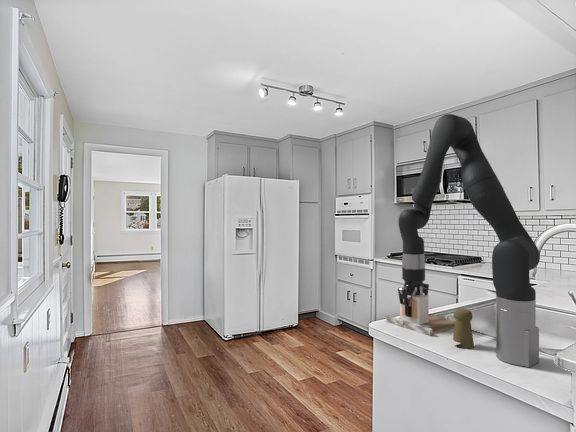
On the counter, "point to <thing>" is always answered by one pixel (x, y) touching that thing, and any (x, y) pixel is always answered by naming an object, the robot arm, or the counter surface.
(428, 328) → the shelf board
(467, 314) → the olive knobbed cone
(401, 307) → the carton
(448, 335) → the counter surface
